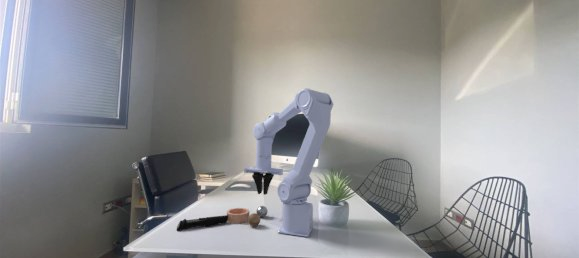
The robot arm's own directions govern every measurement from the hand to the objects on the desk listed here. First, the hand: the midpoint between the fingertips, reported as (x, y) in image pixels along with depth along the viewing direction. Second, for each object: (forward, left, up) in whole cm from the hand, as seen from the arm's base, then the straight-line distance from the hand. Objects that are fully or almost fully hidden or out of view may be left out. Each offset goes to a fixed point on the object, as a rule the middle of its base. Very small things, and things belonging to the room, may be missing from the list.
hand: (262, 193), depth 84 cm
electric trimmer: (+15, +14, -9) cm, 22 cm away
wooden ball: (-1, +9, -6) cm, 11 cm away
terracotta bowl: (+7, +5, -8) cm, 12 cm away
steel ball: (0, 0, -6) cm, 6 cm away
